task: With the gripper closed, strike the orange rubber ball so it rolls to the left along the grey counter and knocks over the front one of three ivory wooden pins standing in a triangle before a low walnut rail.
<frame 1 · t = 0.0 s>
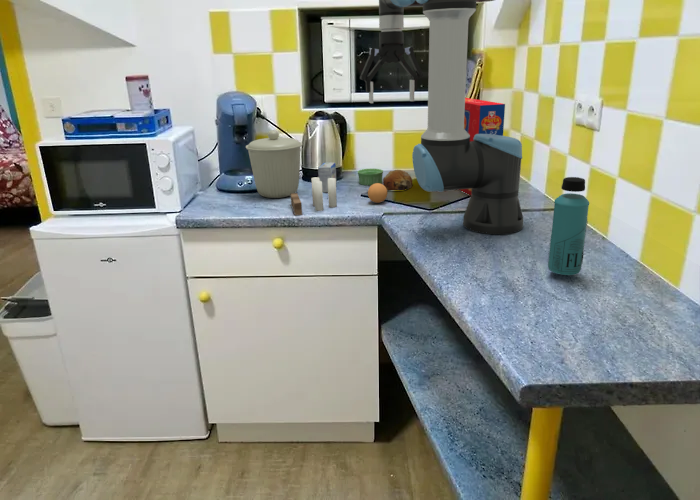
hand: (391, 102, 171), 28 cm above the counter, tool pointing down, fingers open, 13 cm apart
bread roll: (397, 189, 180), on the counter
ball: (377, 193, 162), on the counter
canister: (278, 195, 176), on the counter
back rail: (296, 209, 158), on the counter
medicine box: (328, 190, 180), on the counter
pasta box: (466, 188, 177), on the counter
pin front: (332, 206, 160), on the counter
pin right: (319, 209, 157), on the counter
beverage bottle: (563, 276, 107), on the counter
pin left: (316, 205, 162), on the counter
ramekin: (370, 183, 188), on the counter
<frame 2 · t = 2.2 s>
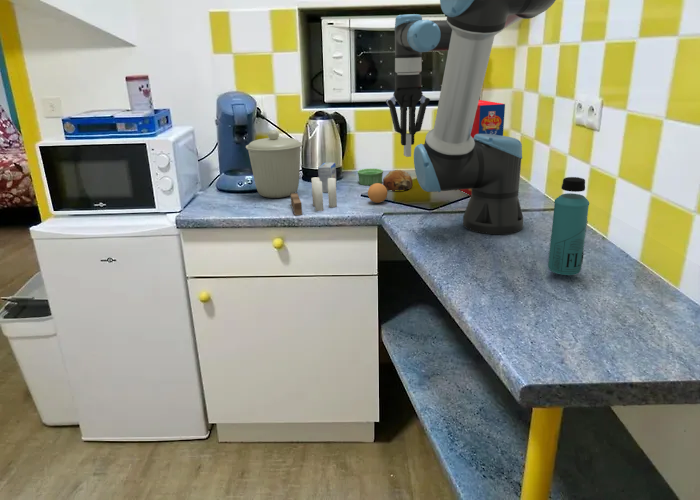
hand: (407, 155, 160), 14 cm above the counter, tool pointing down, fingers closed
nothing on the counter moved.
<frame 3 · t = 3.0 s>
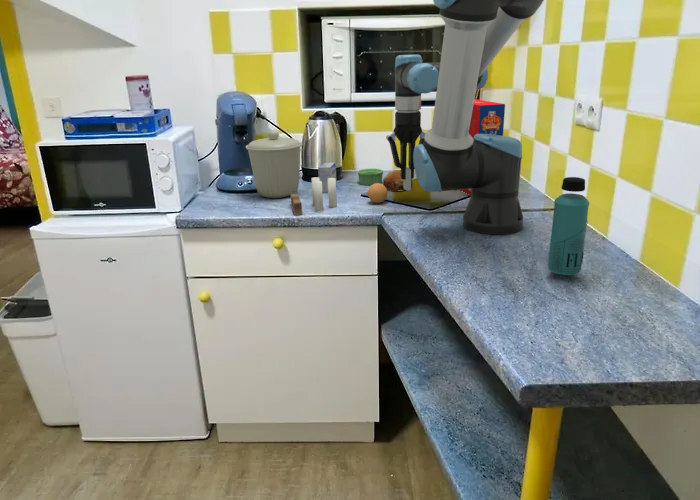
hand: (407, 189, 164), 3 cm above the counter, tool pointing down, fingers closed
nothing on the counter moved.
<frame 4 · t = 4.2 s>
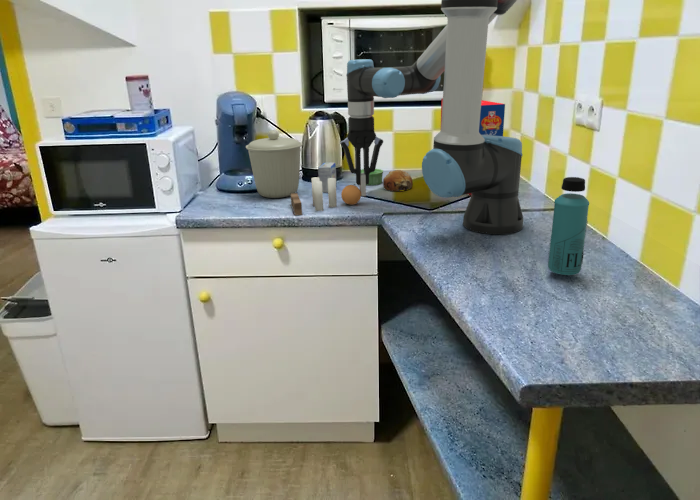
hand: (362, 194, 162), 3 cm above the counter, tool pointing down, fingers closed
ball: (351, 194, 161), on the counter
everything else where it was.
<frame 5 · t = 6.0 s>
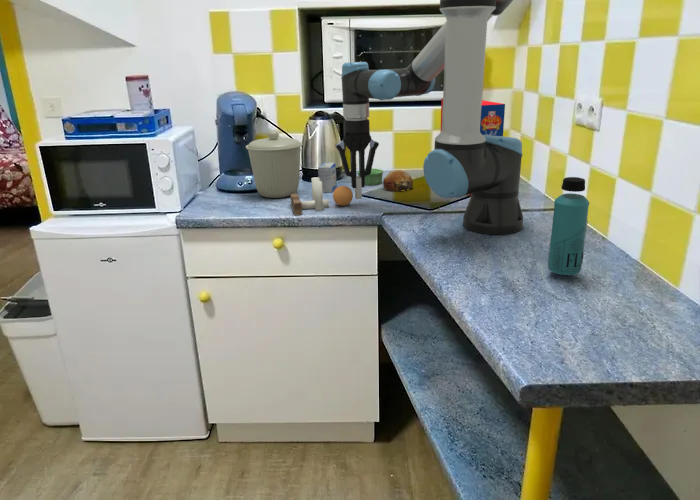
hand: (358, 198, 161), 2 cm above the counter, tool pointing down, fingers closed
ball: (342, 195, 160), on the counter
pin front: (328, 203, 160), point 1 cm above the counter, tilted 90°
everything else where it was.
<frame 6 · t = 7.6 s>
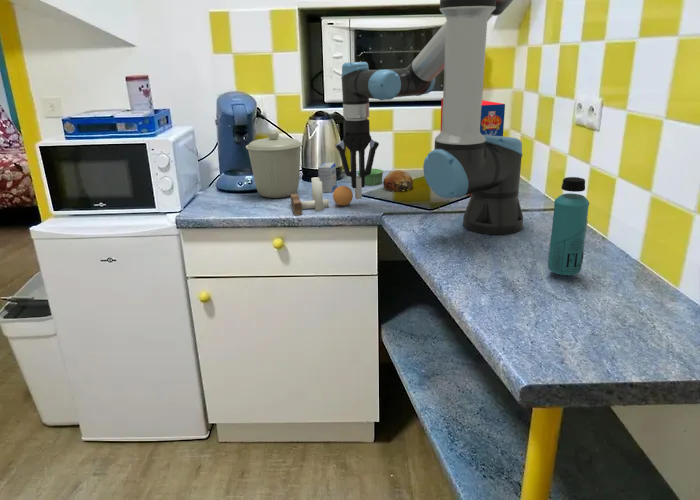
hand: (358, 198, 161), 2 cm above the counter, tool pointing down, fingers closed
nothing on the counter moved.
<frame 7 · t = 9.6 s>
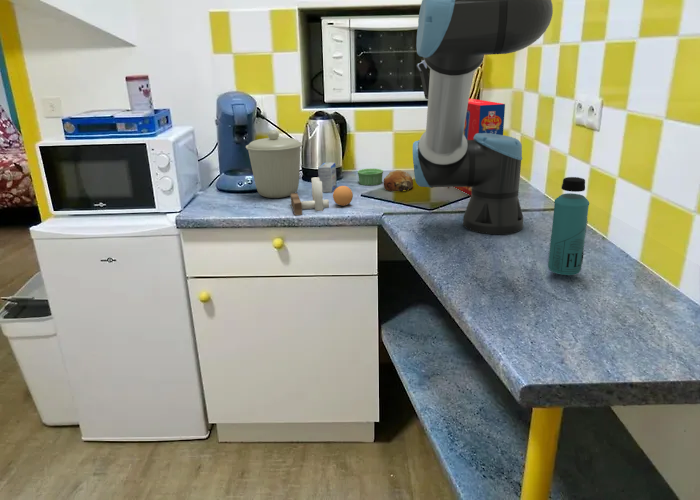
hand: (438, 125, 149), 23 cm above the counter, tool pointing down, fingers closed
nothing on the counter moved.
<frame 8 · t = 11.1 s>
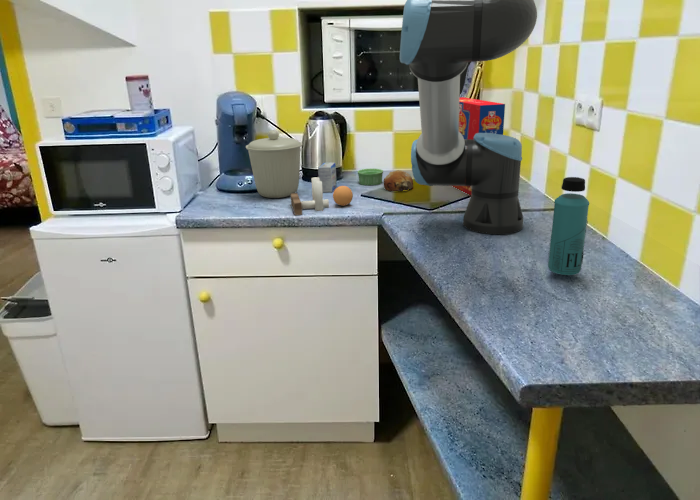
hand: (446, 121, 149), 24 cm above the counter, tool pointing down, fingers closed
at the end: 1 of 3 knocked over (down: pin front; still standing: pin left, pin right); pin front never touched the robot; ball moved 10.8 cm from its start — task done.
